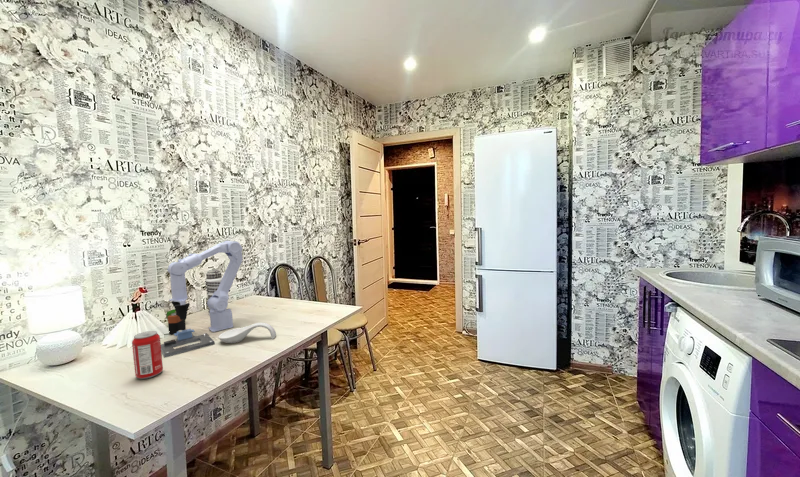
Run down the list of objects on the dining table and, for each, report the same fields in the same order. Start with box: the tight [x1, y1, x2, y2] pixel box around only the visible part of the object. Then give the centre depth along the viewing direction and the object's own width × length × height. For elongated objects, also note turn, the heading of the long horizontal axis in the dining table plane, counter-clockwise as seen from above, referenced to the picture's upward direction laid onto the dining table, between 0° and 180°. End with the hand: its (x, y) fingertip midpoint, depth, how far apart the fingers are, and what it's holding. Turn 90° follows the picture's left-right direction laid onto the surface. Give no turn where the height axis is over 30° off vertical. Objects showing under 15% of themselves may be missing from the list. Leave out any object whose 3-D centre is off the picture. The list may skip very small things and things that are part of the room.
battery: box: [167, 311, 187, 336], centre depth 161 cm, size 4×7×10 cm, turn 5°
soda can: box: [131, 330, 164, 380], centre depth 117 cm, size 8×8×15 cm
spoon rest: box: [218, 322, 277, 344], centre depth 149 cm, size 24×12×7 cm, turn 98°
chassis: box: [161, 333, 215, 358], centre depth 143 cm, size 18×14×2 cm
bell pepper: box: [166, 308, 176, 320], centre depth 172 cm, size 8×8×10 cm
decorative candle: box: [204, 269, 223, 316], centre depth 190 cm, size 9×9×25 cm
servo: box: [173, 328, 195, 341], centre depth 153 cm, size 8×3×4 cm, turn 132°
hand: (181, 317), depth 152 cm, fingers open, 7 cm apart
